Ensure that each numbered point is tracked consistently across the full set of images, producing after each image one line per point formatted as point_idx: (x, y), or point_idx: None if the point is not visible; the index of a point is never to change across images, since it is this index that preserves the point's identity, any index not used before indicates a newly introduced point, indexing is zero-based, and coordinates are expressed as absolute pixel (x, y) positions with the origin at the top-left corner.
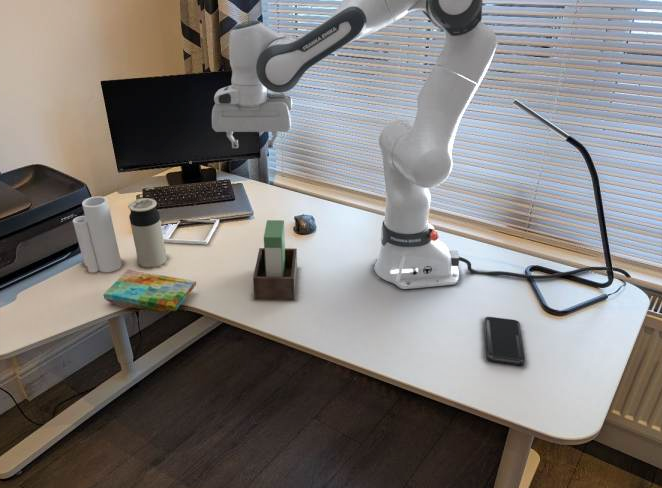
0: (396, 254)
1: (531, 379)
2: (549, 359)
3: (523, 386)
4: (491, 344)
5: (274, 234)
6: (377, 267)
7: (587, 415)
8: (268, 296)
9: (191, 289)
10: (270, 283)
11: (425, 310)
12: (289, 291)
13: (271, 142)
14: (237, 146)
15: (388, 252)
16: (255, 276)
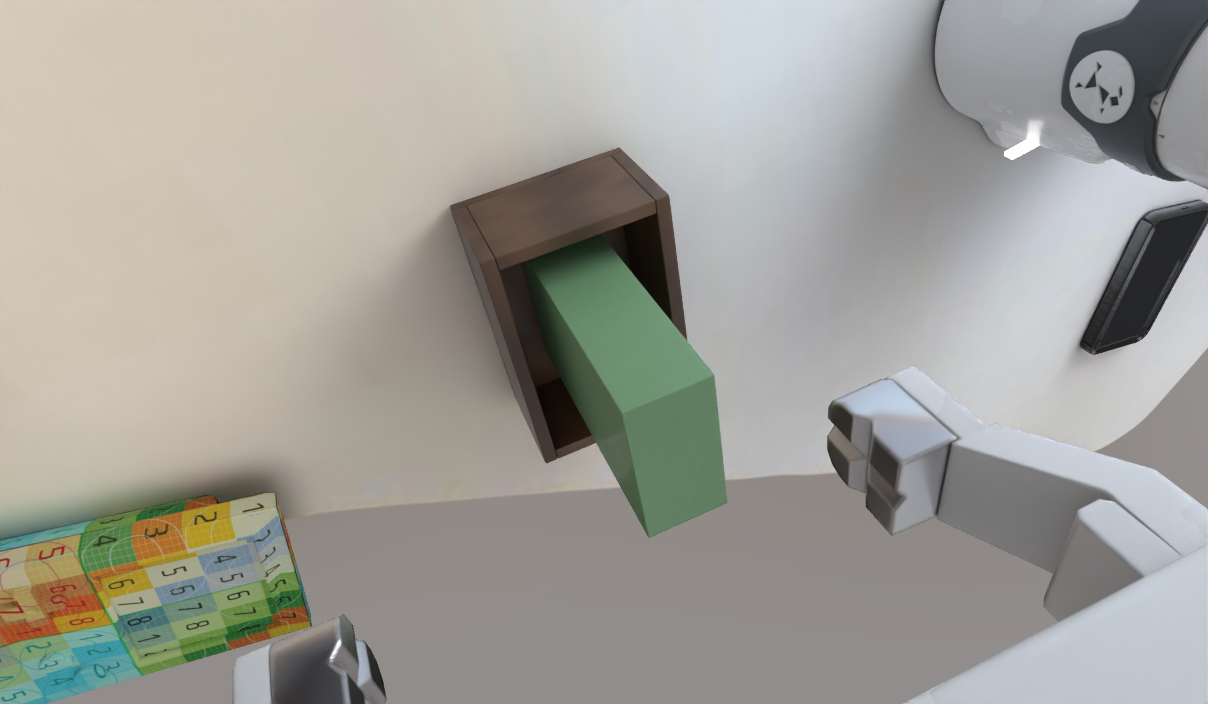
0: (1084, 150)
1: (1125, 359)
2: (1188, 291)
3: (1103, 382)
4: (1113, 313)
5: (692, 500)
6: (958, 69)
7: (1155, 397)
8: None
9: (285, 529)
10: None
11: (1024, 227)
12: None
13: (939, 508)
14: (383, 690)
15: (1059, 126)
16: (551, 452)
